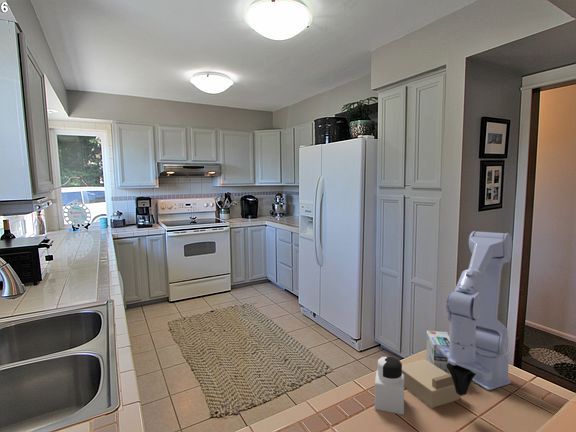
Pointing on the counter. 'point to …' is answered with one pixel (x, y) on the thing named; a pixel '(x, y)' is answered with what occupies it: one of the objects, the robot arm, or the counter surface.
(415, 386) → the base
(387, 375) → the medicine bottle
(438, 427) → the counter surface
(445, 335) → the light bulb box
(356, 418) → the counter surface
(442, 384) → the mailer lid
